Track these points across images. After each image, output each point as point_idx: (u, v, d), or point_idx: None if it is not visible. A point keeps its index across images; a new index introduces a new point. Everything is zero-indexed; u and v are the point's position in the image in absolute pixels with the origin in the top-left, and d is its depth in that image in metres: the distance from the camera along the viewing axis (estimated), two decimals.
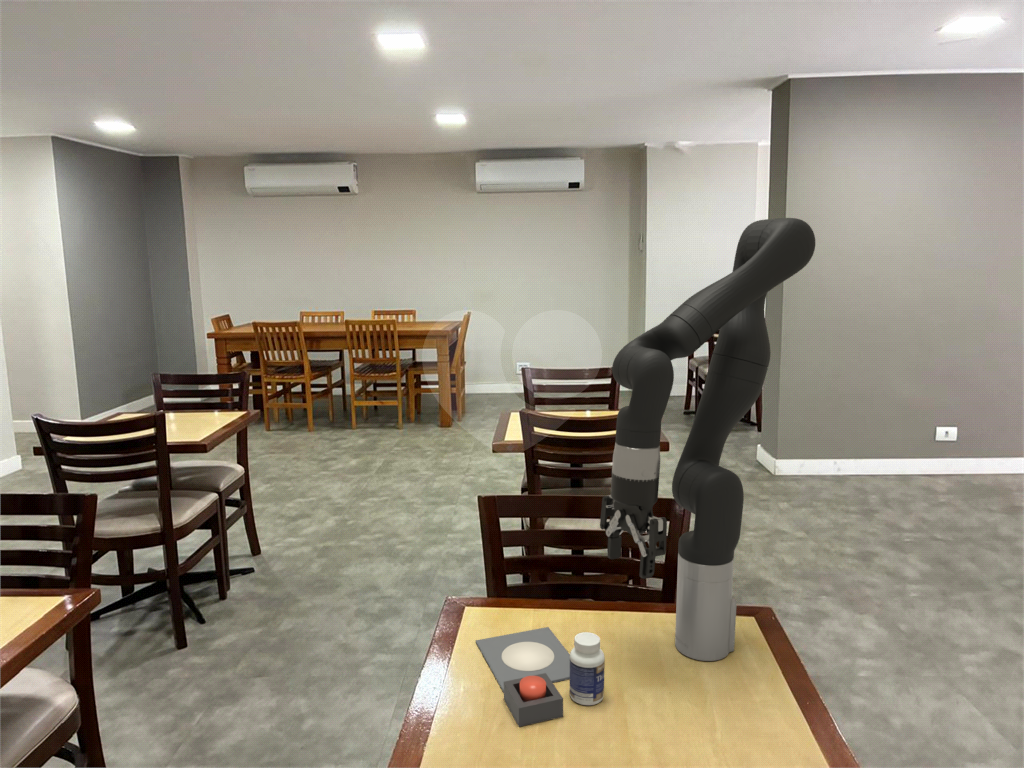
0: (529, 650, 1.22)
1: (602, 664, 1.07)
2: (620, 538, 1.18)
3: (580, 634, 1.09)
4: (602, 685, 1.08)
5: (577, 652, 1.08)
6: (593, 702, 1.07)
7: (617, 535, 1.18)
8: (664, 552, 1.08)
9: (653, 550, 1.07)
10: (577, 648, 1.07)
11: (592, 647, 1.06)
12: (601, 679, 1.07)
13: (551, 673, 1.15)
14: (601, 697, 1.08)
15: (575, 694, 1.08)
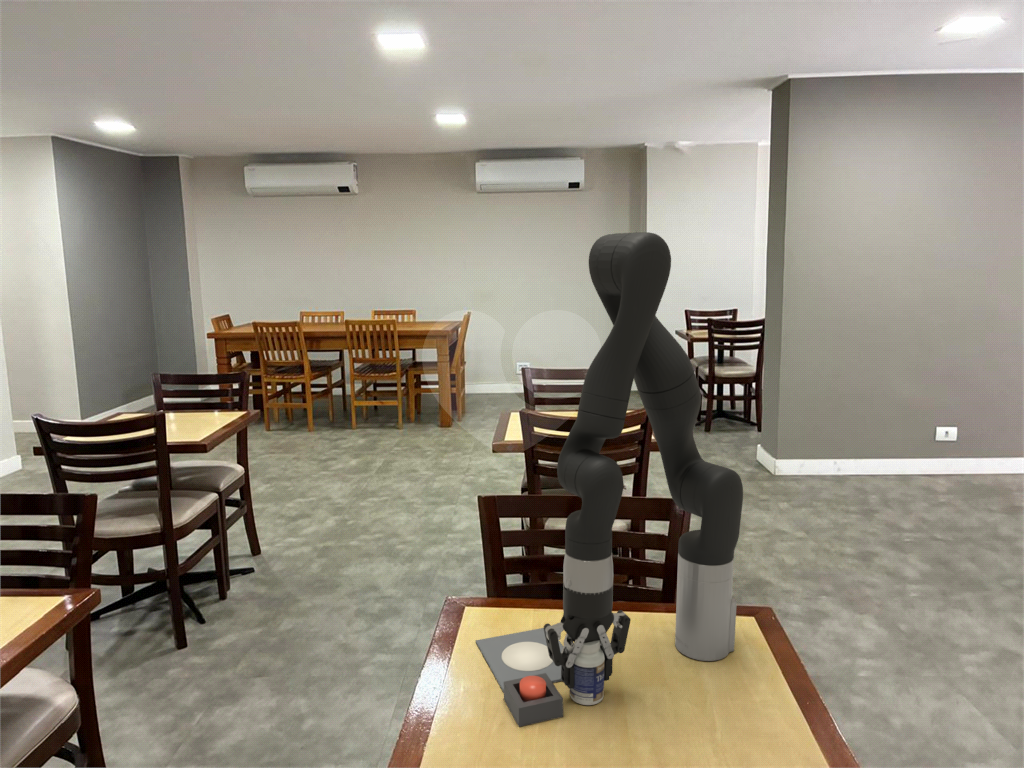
0: (529, 650, 1.22)
1: (602, 664, 1.07)
2: None
3: None
4: (602, 685, 1.08)
5: None
6: (593, 702, 1.07)
7: None
8: None
9: (623, 645, 1.09)
10: None
11: (592, 646, 1.06)
12: (601, 679, 1.07)
13: (551, 673, 1.15)
14: (601, 697, 1.08)
15: (575, 694, 1.08)
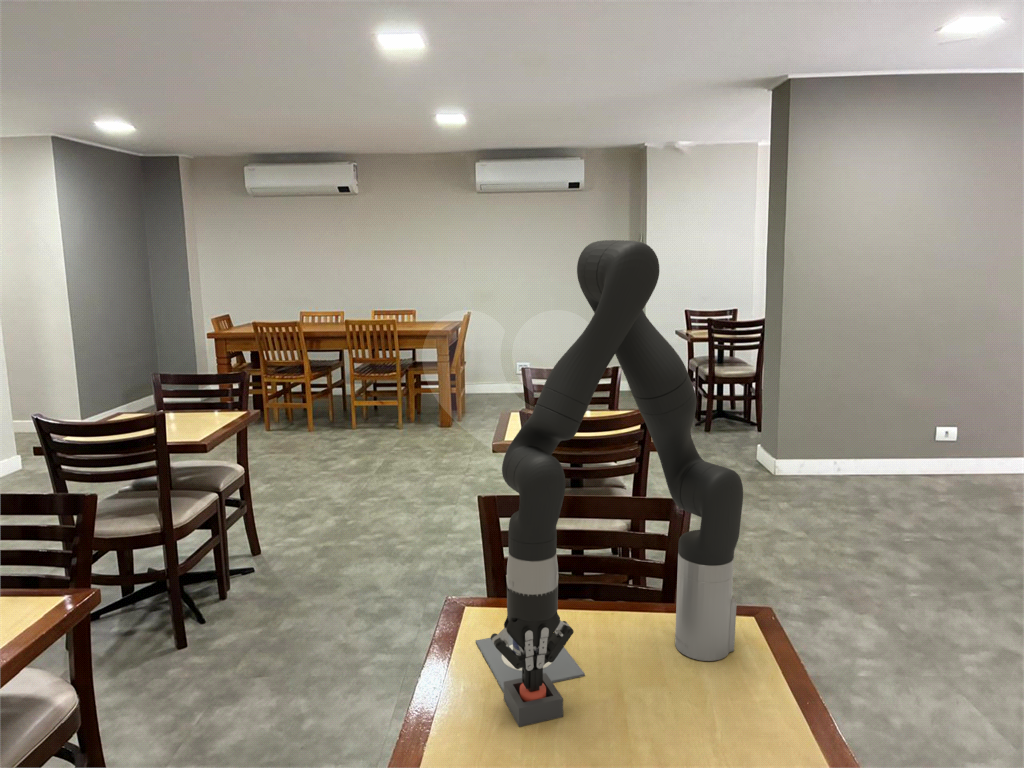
0: None
1: None
2: None
3: None
4: None
5: None
6: None
7: None
8: None
9: (554, 654, 1.05)
10: None
11: None
12: None
13: (551, 673, 1.15)
14: None
15: (516, 653, 1.18)
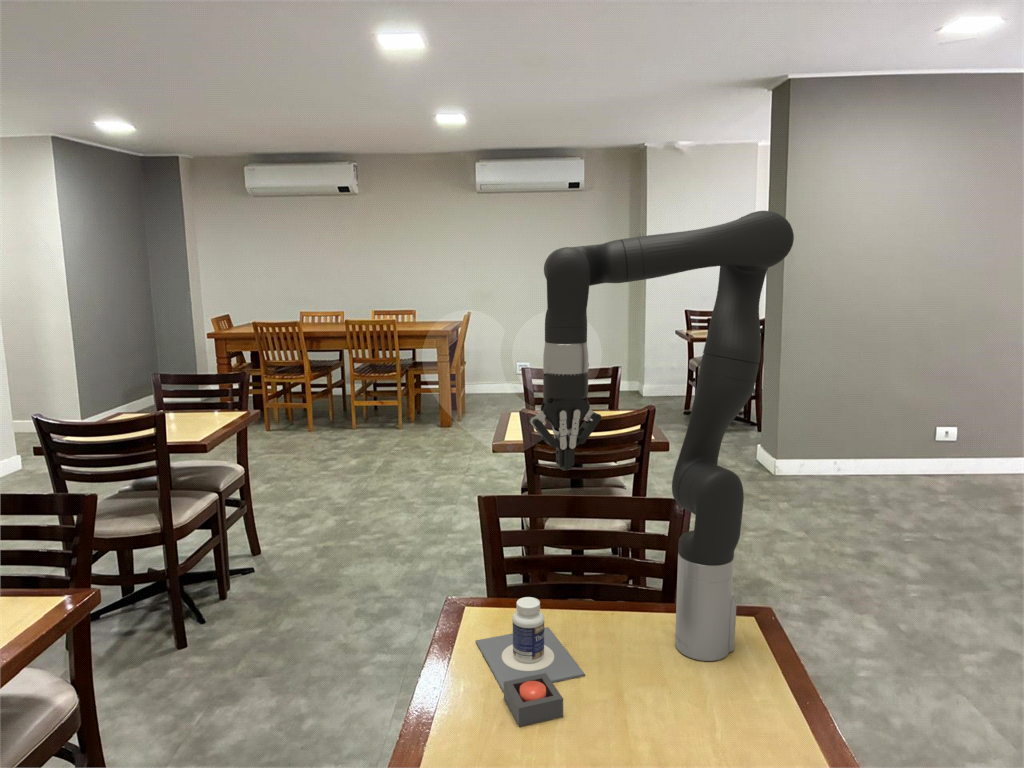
0: None
1: (541, 626, 1.18)
2: None
3: (523, 598, 1.20)
4: (541, 645, 1.18)
5: (518, 614, 1.18)
6: (532, 660, 1.18)
7: None
8: None
9: (584, 437, 1.19)
10: (518, 610, 1.18)
11: (531, 609, 1.17)
12: (540, 639, 1.18)
13: (551, 673, 1.15)
14: (540, 656, 1.18)
15: (516, 653, 1.18)
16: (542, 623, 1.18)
